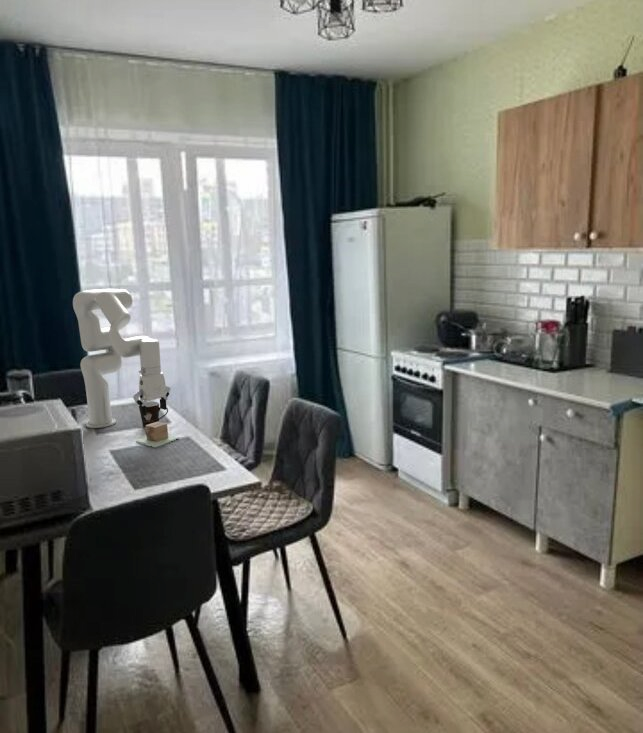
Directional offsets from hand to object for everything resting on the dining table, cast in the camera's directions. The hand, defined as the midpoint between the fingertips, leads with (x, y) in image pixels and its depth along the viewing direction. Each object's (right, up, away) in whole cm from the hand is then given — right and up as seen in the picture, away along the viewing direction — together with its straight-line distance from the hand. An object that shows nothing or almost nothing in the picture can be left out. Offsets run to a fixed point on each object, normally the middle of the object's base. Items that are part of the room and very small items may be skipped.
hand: (153, 412), depth 237 cm
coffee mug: (-6, -8, +22) cm, 24 cm away
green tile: (+1, -12, +2) cm, 12 cm away
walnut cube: (+1, -11, +2) cm, 11 cm away
